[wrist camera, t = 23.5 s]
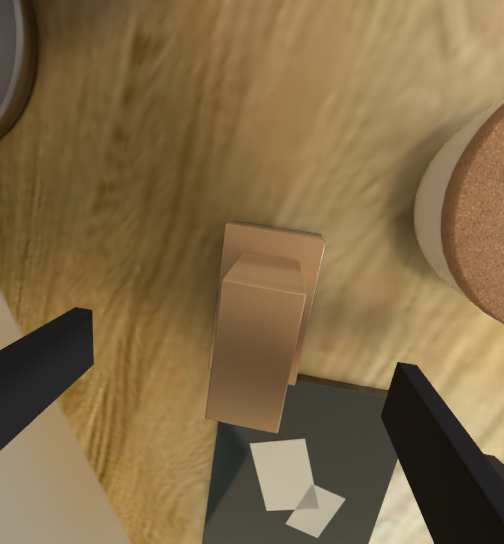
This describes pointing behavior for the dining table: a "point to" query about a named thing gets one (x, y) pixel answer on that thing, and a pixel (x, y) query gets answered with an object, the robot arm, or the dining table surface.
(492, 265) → the trinket box
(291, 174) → the dining table surface
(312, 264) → the wooden stepped block
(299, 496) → the slate board
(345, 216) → the dining table surface
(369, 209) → the dining table surface
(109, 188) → the dining table surface
